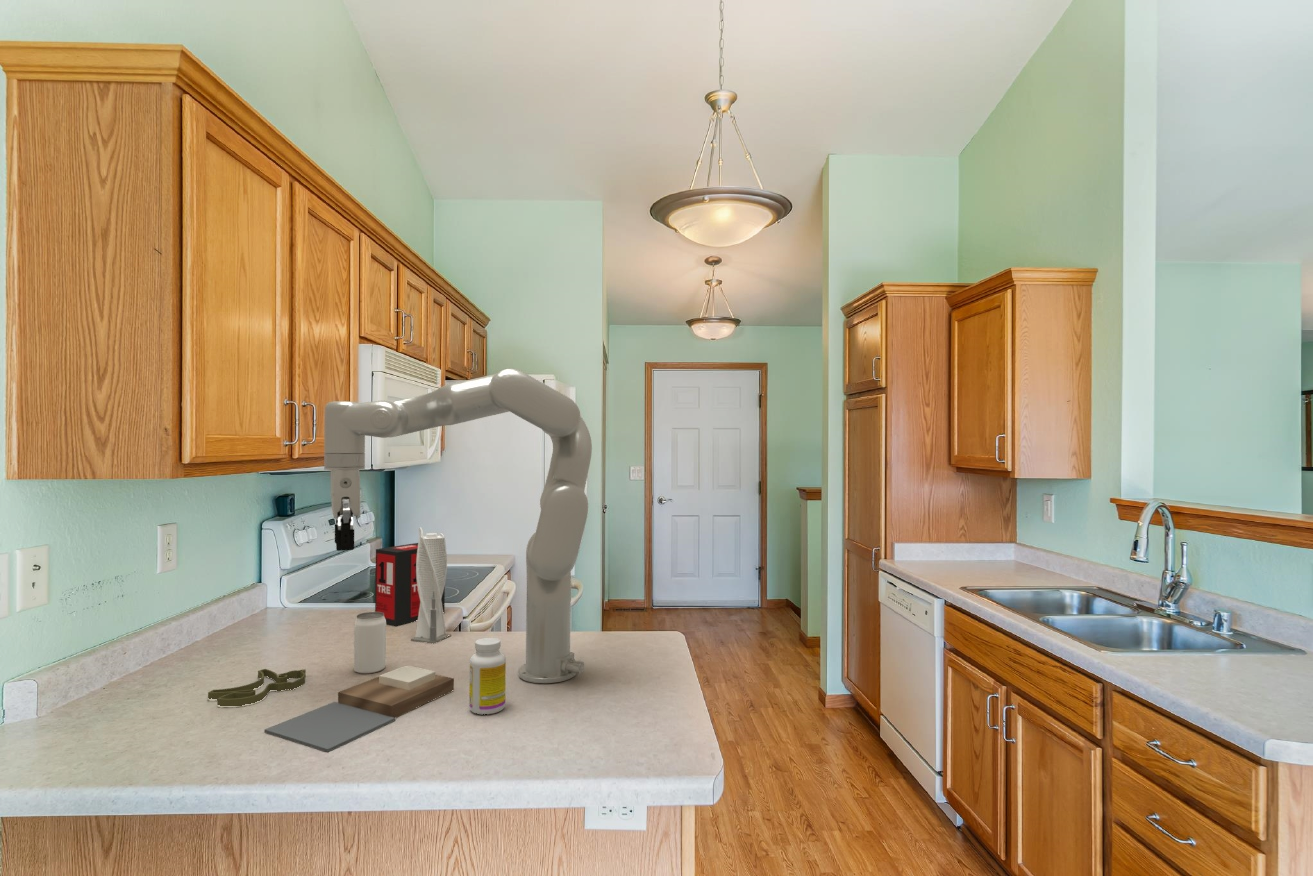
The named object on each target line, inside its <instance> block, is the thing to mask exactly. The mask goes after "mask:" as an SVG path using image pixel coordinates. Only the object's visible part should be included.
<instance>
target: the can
mask: <svg viewBox="0 0 1313 876" xmlns="http://www.w3.org/2000/svg"><path fill="white" fill-rule="evenodd" d="M353 626H354V630H353V635H354V637H353V671H354V672H356V674H361V675H371V674H375V673H380V672H382V671H384V669H385V668H386V666H387V665H386V664H387V661H386V660H387V624H386V619H385V617H384V613H382V612H375V611H367V612H362V613H359V614H357V615H356V619H355V621H354V625H353Z"/></svg>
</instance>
